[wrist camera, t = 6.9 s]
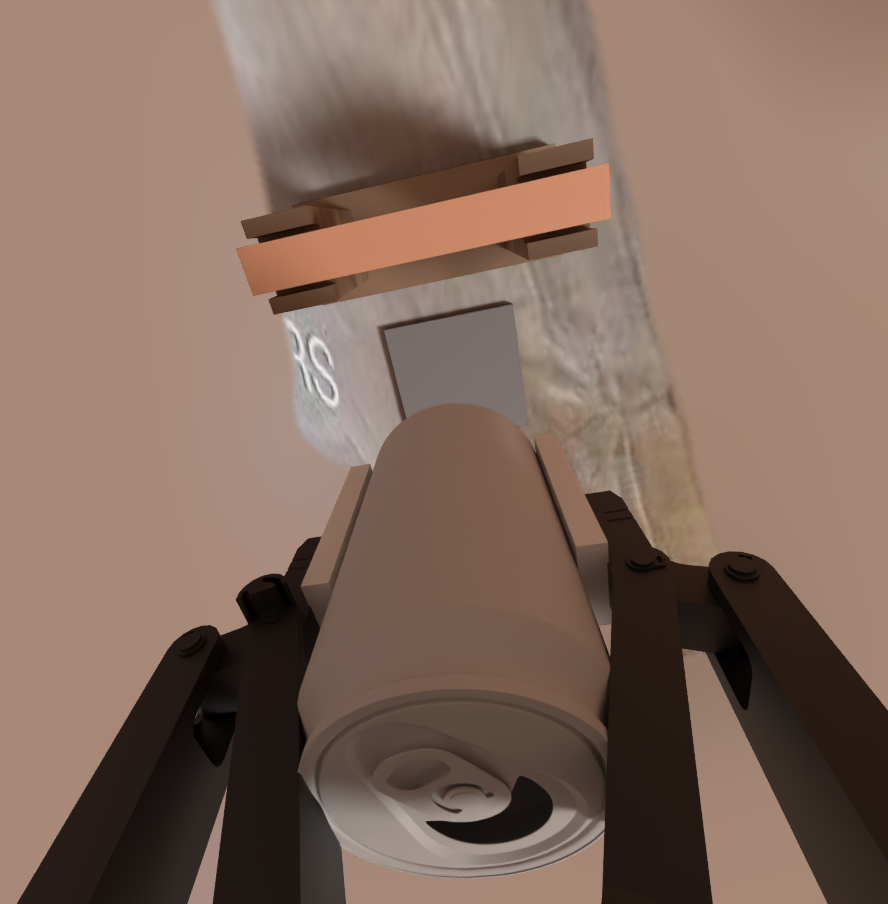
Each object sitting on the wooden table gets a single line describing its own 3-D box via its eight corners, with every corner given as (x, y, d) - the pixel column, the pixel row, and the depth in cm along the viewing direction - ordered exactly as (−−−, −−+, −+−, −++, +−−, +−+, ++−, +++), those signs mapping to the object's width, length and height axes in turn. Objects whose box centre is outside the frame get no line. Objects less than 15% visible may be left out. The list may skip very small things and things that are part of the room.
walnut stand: (297, 206, 29) (220, 197, 19) (551, 146, 27) (604, 104, 18) (326, 302, 32) (271, 337, 22) (560, 253, 30) (610, 267, 20)
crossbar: (249, 247, 21) (235, 248, 20) (598, 167, 20) (609, 163, 18) (265, 291, 22) (253, 295, 21) (600, 218, 21) (610, 218, 19)
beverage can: (450, 559, 21) (448, 925, 10) (344, 464, 18) (194, 795, 8) (567, 475, 19) (727, 820, 8) (463, 360, 17) (483, 608, 6)
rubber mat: (384, 329, 32) (383, 330, 32) (511, 303, 31) (512, 304, 31) (413, 442, 36) (413, 445, 36) (527, 422, 35) (528, 425, 35)
